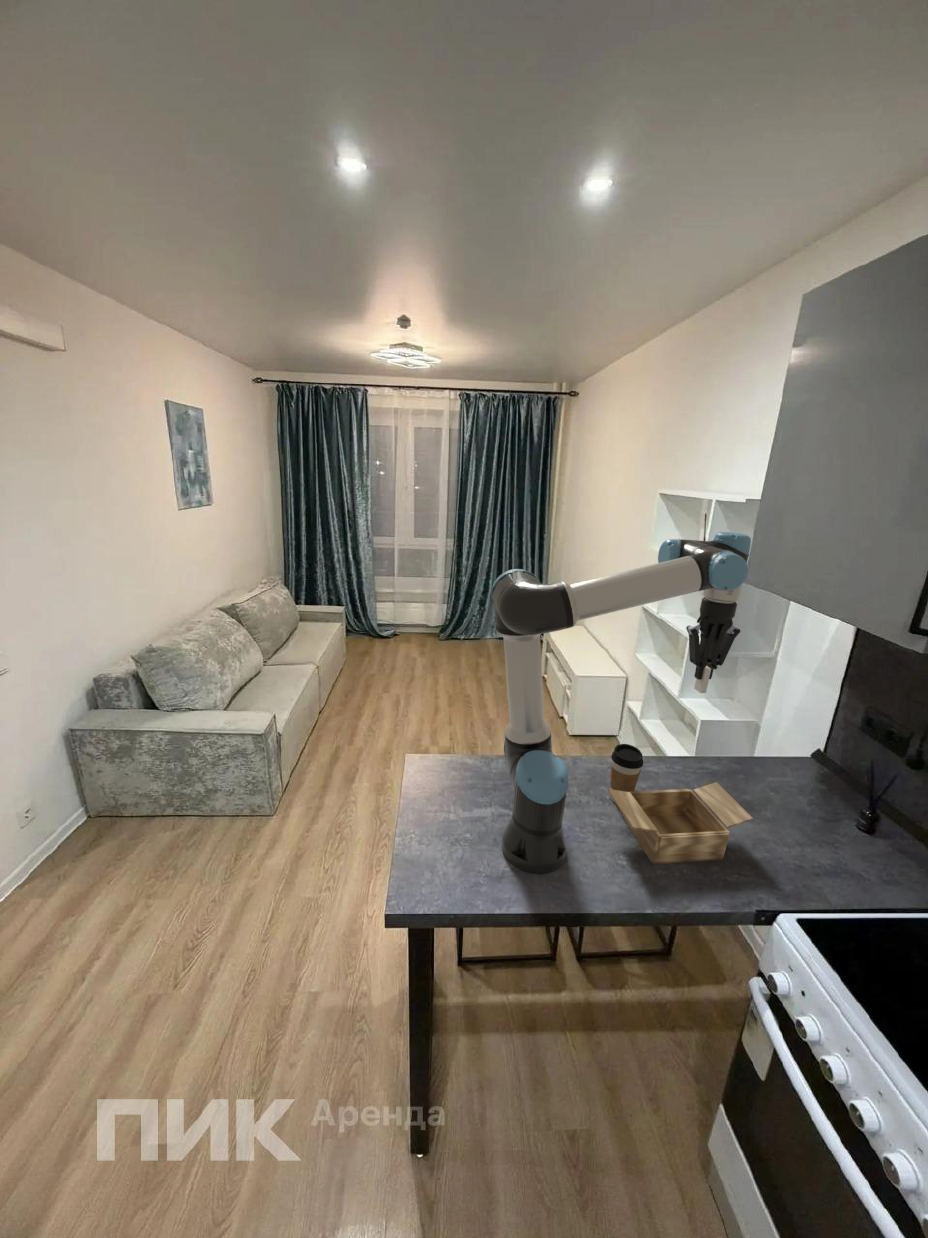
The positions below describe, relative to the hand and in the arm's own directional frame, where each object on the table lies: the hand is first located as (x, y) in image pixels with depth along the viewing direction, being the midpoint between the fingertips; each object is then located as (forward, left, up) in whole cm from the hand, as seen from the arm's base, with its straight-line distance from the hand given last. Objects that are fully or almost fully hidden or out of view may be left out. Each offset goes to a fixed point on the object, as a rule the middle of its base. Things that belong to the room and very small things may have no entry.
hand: (699, 690), depth 124 cm
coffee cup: (-12, +7, -37) cm, 39 cm away
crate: (-6, -9, -36) cm, 38 cm away
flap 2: (+3, -9, -28) cm, 29 cm away
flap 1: (-15, -9, -28) cm, 33 cm away
